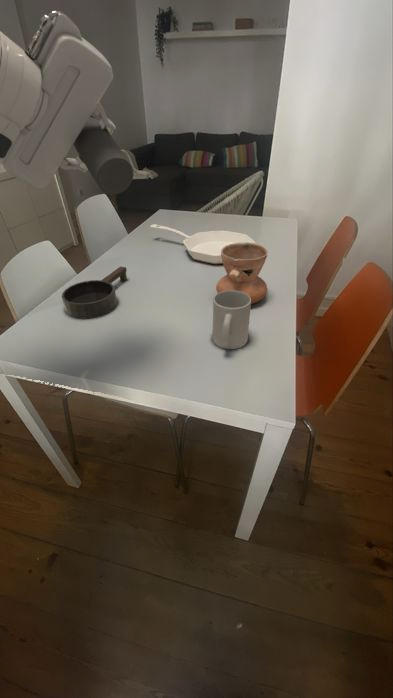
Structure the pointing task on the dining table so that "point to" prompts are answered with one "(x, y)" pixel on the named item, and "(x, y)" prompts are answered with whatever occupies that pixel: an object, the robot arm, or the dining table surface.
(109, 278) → the dark brown rectangular block
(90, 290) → the dark low round container
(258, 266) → the ceramic jug
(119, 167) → the bottle
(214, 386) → the dining table surface
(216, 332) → the mug
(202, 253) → the pan
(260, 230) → the dining table surface
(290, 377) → the dining table surface
